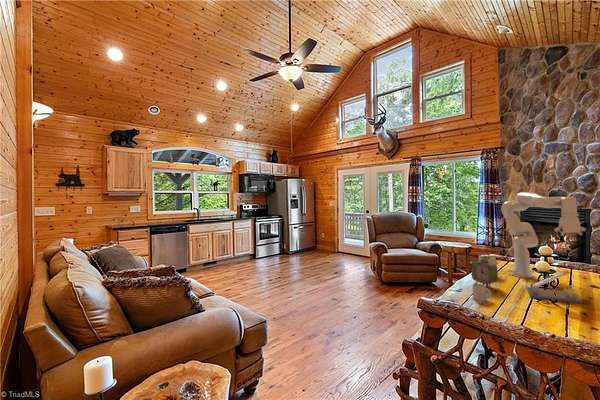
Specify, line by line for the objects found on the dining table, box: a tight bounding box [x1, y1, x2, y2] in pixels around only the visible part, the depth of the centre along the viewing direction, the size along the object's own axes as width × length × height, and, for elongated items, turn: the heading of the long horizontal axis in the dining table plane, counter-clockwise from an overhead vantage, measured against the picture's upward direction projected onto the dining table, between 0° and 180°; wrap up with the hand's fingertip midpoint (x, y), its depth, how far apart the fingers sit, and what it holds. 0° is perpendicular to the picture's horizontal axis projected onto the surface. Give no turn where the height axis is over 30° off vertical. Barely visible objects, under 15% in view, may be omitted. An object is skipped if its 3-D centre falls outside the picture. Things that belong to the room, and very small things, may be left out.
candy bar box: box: [478, 254, 497, 265], centre depth 231 cm, size 11×5×16 cm, turn 81°
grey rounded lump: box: [472, 283, 492, 302], centre depth 182 cm, size 7×10×9 cm
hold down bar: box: [532, 268, 571, 288], centre depth 182 cm, size 21×4×2 cm
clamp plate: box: [526, 282, 583, 305], centre depth 182 cm, size 24×16×7 cm, turn 57°
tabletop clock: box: [470, 251, 499, 290], centre depth 205 cm, size 14×9×25 cm, turn 23°
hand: (570, 241), depth 189 cm, fingers open, 9 cm apart
